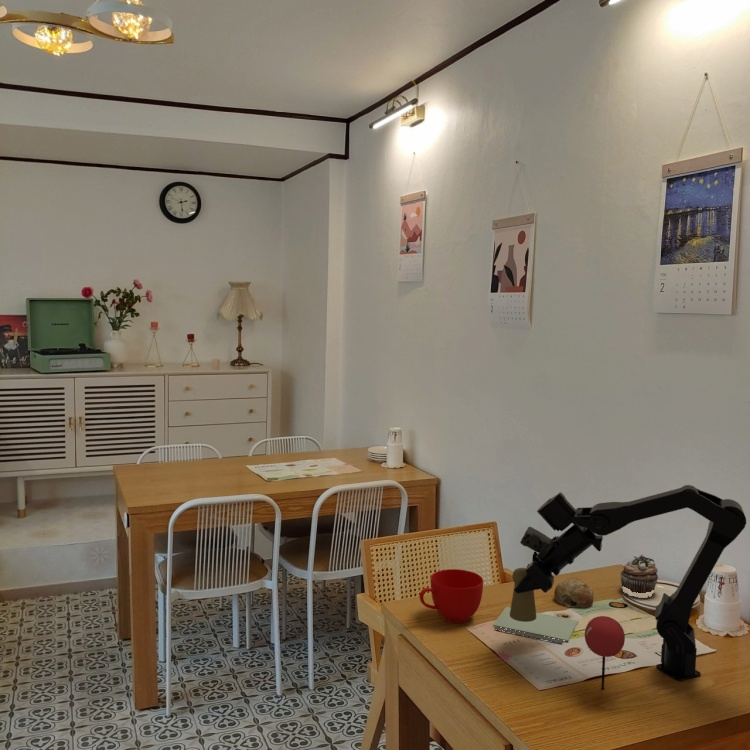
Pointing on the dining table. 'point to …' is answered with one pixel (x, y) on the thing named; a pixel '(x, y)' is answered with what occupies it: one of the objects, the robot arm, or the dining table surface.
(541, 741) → the dining table surface
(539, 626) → the green spiral notebook
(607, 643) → the lollipop
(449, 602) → the ceramic cup
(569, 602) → the bread roll
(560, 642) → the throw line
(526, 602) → the olive game pawn
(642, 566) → the cupcake
